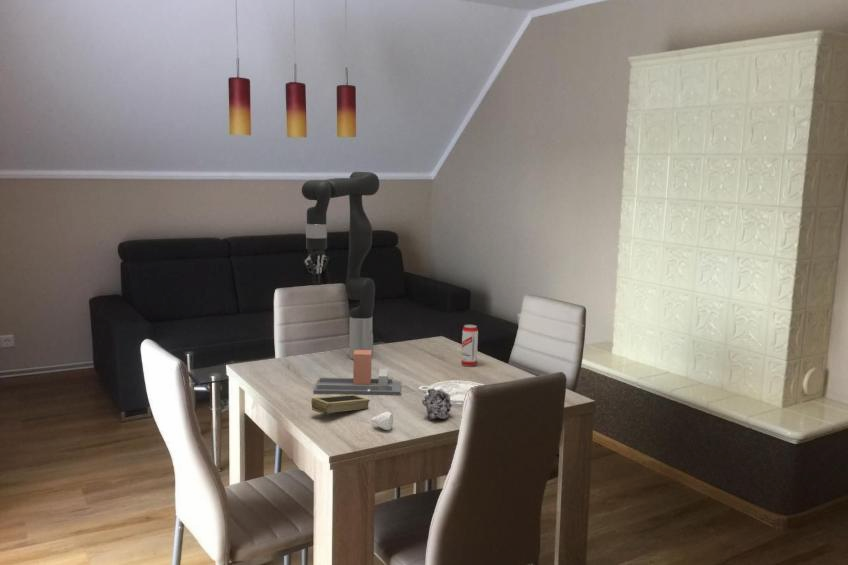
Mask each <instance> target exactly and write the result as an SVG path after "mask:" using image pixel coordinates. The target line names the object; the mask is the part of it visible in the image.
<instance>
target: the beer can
mask: <svg viewBox="0 0 848 565" xmlns="http://www.w3.org/2000/svg"><path fill="white" fill-rule="evenodd" d="M477 327H478V326H477V325H475V324H464V325H463V328H462V334H461V335H462V336H461V338H462V339H461V359H460V360H461V361H460V363H461V365H462V366H463V367H468V368H469V367H476V365H477V364H478V343H479V341H478V340H479V330H478V328H477Z"/></svg>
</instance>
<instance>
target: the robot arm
mask: <svg viewBox="0 0 848 565" xmlns="http://www.w3.org/2000/svg"><path fill="white" fill-rule="evenodd" d="M379 189H380V179H379V177H378V175H377V174H376V173H374V172H370V171H369V172H368V171H353V172H352V173H351V174H350V176H349V177H334V178H328V179H313V180H312V179H310V180H307V181H305V182H304V184H302V187H301V194H302V196H303V197H304V199H306V200H308V201H316V204H315V205H314V206H311V207H308V208H307V210H306V227H305V249H306V250H307V251H308V252H307V258H306V259H305V258H304V259H303V264H304V265H305V267H306V270H307V271H308V273H311V274H312V283H313V285H314V284H315V285H318V284H321V274H322V272H324V271H325V269H326V267H327V265H328V262H329V261H330V257H329V256H326V251H325V250H327V248H328V228H327V212H328V209H329V203H330V201H331V199H333V198H340V197H345V196H348V201H349V228H348V229H349V232H348V263H347V270H346V272H347V273H346V280H345V293H346V294H345V295H346V296H347V297H348V298H349V299H351V300H358V301H359V306H356V307H353V308H351V309H350V310H349V348H348V350H349V354H348V355H349V357H348V358H349V359H351V360H353V358H354V351H355V350H372V357H373V356H374V347H373V346H374V333H373V314H374V308H375V299H376V298H375V297H376V286H375V285H376V284H375V282H374V280H373V278H368V277H361V269H362V265H363V262H364V260H365V258H366V257H367V255H368V254H369V252H370V250H371V248H372V245H373V227H372V224H371V222H370V220H369V218H368V216H367V214H366V212H365V209H364V206H363V196H369V197H370V196H373V195H376V193H377V192H379Z"/></svg>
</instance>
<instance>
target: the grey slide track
mask: <svg viewBox="0 0 848 565" xmlns="http://www.w3.org/2000/svg"><path fill="white" fill-rule="evenodd" d="M388 371H389V369H388V368H379V371H378V378H377V377H375V378H373V377H371V385H353V377H321V376H320V377H319V379H318V380H317V381H316V383H315V386H314V388H313V395H349V394H354V395H357V396H359V395H360V396H361V395H362V396H363V395H371V396H401V394H402V392H401V387H402V386H401V385H402V384H401V383H402V381H395V380H393V378H389V375H388V374H389V372H388Z"/></svg>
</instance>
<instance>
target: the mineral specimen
mask: <svg viewBox="0 0 848 565" xmlns="http://www.w3.org/2000/svg"><path fill="white" fill-rule="evenodd" d="M428 393H429V394H428V395H426V394H425V396H424V399H421V402H422V405H423V406H425V408H426V413H427V415H428V420H429V421H432V420H434V419H435V420H436V419H437V418H438V419H443V420H444V419H448V417H449V414H450V412H451V408H452V407H453V406H452V404H451V403H450V395H449V394H447V393H445V392H443V390H442V389H439V390H437V391H436V389H429V390H428Z"/></svg>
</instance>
